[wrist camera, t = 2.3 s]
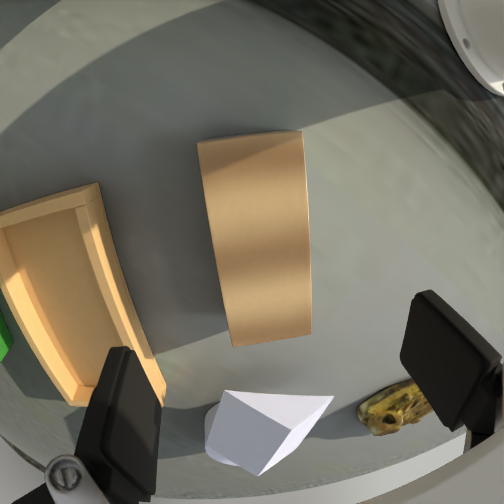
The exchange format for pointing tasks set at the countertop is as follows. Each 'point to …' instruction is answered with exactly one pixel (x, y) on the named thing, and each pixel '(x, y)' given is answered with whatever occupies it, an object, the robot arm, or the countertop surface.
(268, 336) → the eraser
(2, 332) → the hardback book
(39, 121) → the countertop surface
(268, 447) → the wedge on round base
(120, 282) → the holder
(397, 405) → the yellow-brown textured oval
